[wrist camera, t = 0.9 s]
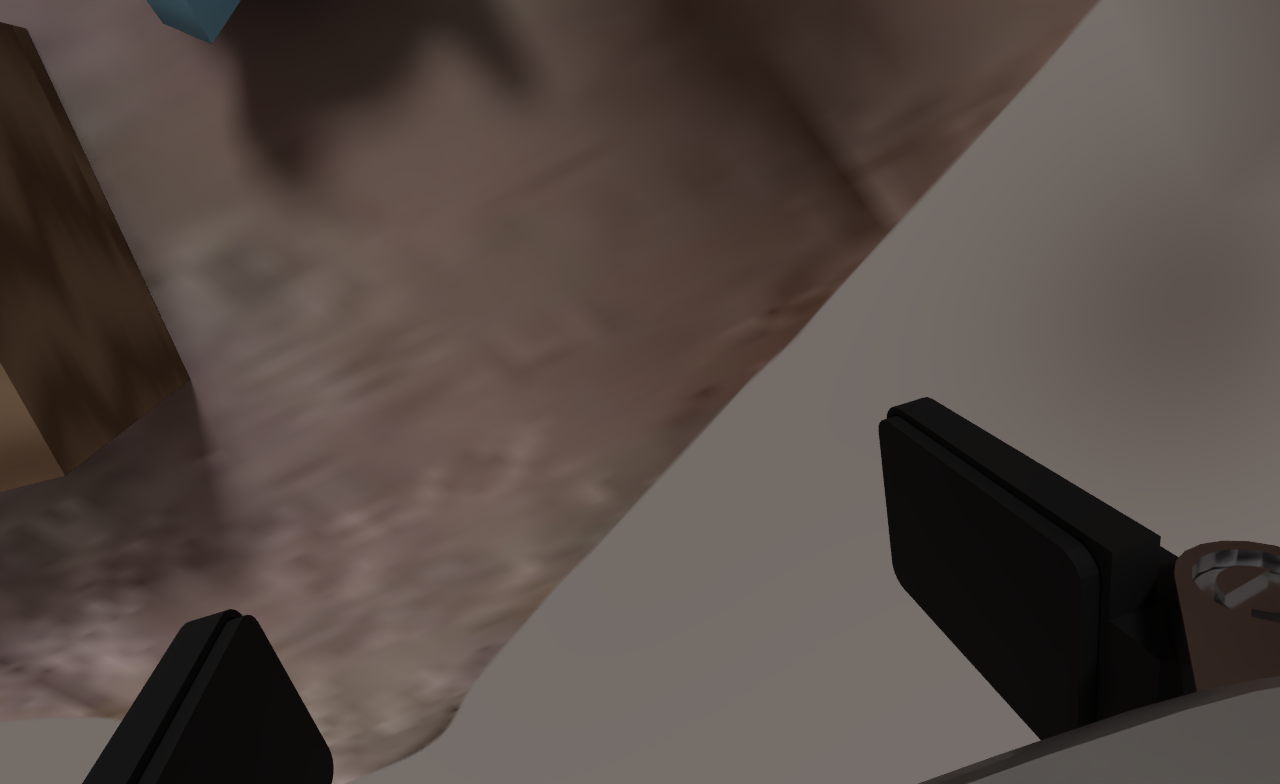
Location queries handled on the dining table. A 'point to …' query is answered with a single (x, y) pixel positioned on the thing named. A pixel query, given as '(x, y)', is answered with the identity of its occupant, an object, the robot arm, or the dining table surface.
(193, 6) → the teapot
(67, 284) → the well block
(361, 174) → the dining table surface
